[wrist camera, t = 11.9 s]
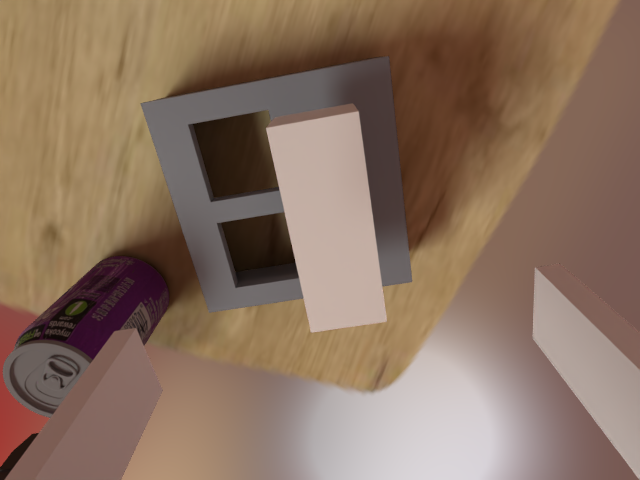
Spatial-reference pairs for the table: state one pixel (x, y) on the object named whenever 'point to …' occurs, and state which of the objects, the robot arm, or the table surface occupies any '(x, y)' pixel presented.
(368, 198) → the bar
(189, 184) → the keyhole board
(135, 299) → the beverage can
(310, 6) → the table surface
